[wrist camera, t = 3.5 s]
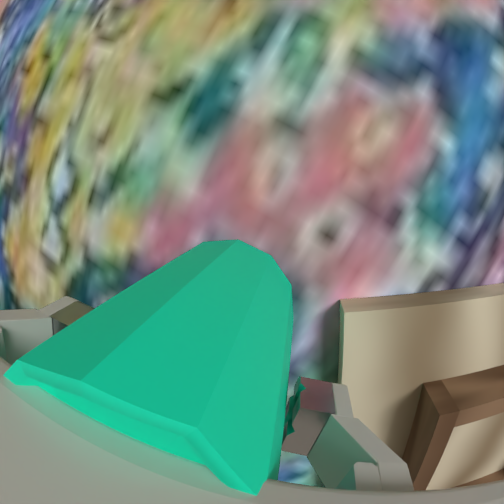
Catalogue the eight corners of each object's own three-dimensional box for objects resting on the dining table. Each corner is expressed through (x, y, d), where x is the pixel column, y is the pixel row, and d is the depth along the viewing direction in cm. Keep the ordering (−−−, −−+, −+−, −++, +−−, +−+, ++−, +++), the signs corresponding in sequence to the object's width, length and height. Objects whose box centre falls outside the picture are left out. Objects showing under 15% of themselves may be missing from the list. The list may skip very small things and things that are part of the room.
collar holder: (321, 522, 17) (320, 560, 13) (339, 299, 13) (354, 342, 9) (521, 470, 14) (535, 496, 10) (599, 266, 10) (634, 281, 6)
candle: (237, 380, 15) (154, 603, 3) (145, 304, 15) (-43, 462, 3) (322, 300, 13) (352, 598, 2) (217, 209, 13) (-76, 316, 2)
